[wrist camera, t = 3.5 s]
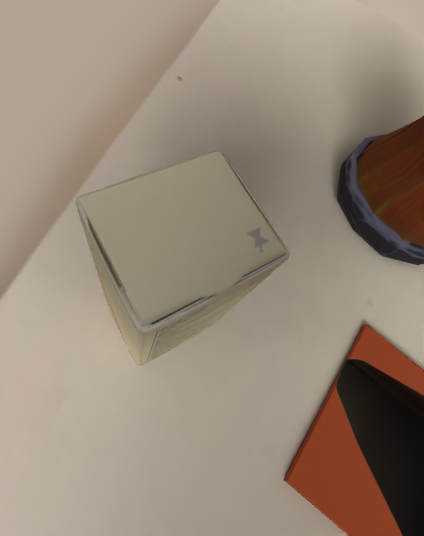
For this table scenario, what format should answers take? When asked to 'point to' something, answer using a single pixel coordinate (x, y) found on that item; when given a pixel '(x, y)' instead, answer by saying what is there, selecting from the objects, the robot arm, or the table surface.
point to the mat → (350, 451)
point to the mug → (387, 192)
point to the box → (177, 250)
